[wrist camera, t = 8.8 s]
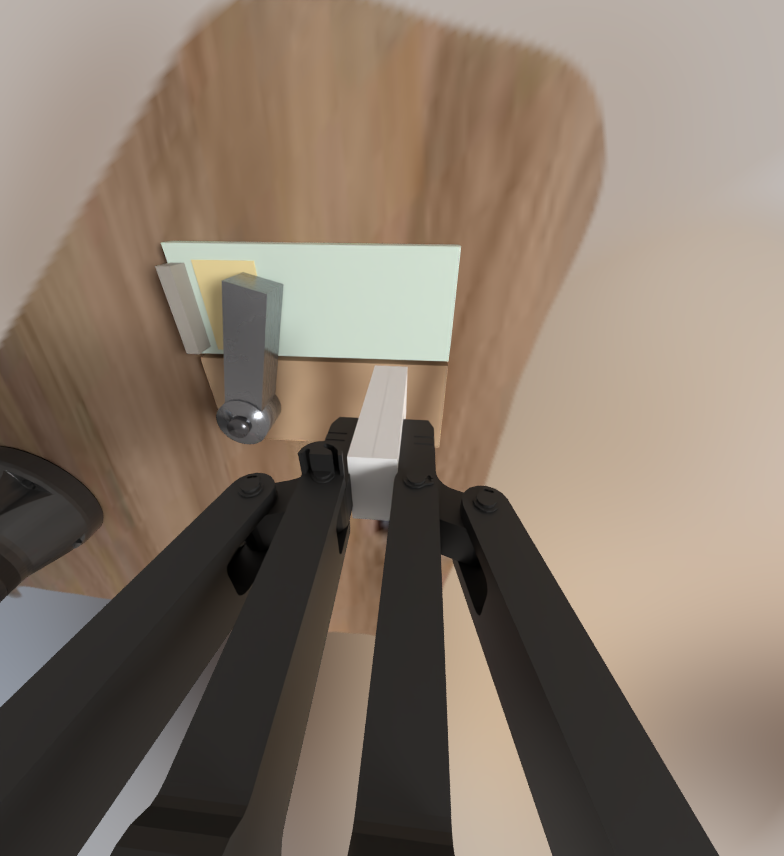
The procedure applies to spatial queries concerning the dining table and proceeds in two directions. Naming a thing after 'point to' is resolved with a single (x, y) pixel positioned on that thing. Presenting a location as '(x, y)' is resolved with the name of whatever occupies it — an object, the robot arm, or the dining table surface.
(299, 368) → the board
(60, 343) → the dining table surface
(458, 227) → the dining table surface
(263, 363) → the latch bar
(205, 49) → the dining table surface
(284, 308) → the door panel
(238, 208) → the dining table surface
